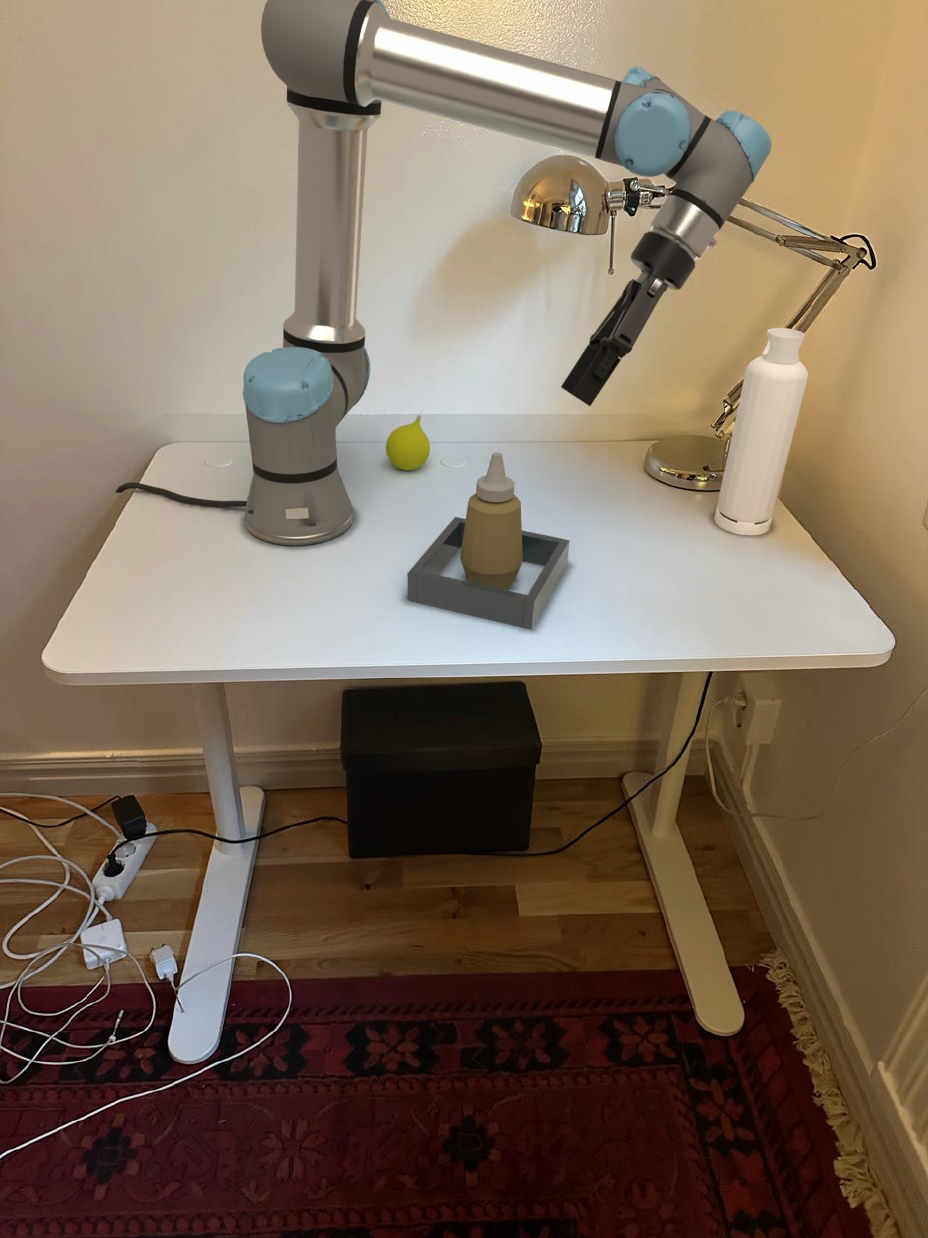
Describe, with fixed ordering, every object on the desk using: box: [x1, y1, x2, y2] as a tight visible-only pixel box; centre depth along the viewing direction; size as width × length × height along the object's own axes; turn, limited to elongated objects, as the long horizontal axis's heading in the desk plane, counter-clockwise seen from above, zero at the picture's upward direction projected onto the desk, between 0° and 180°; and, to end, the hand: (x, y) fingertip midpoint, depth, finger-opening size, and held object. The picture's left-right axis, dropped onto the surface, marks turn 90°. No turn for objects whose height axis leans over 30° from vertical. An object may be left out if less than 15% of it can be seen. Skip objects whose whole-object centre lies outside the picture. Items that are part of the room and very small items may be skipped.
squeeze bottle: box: [459, 451, 523, 590], centre depth 110 cm, size 8×8×18 cm
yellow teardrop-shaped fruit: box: [385, 410, 431, 471], centre depth 141 cm, size 7×7×10 cm
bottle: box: [713, 327, 809, 536], centre depth 124 cm, size 8×8×28 cm
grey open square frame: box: [406, 516, 571, 630], centre depth 114 cm, size 16×16×4 cm
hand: (574, 396), depth 114 cm, fingers open, 13 cm apart
